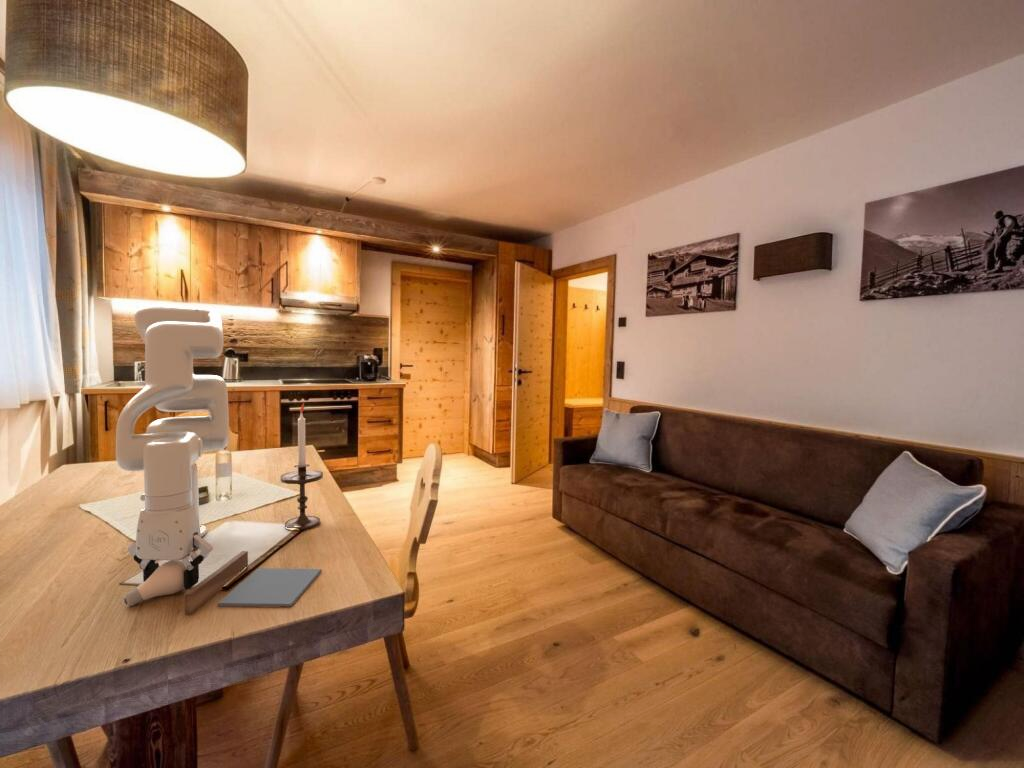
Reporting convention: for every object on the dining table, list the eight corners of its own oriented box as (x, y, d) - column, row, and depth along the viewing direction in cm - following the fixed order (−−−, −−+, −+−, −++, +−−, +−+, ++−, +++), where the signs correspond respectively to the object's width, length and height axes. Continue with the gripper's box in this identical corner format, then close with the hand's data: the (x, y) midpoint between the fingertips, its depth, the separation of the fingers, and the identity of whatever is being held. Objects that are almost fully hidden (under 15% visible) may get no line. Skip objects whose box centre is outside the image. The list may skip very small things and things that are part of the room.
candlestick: (312, 515, 133) (311, 399, 131) (330, 524, 127) (329, 402, 124) (274, 525, 125) (272, 402, 123) (291, 535, 118) (290, 405, 116)
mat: (217, 606, 85) (217, 603, 85) (258, 570, 99) (258, 568, 99) (290, 606, 85) (290, 603, 85) (321, 571, 99) (321, 568, 99)
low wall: (184, 614, 82) (184, 594, 82) (242, 568, 100) (242, 551, 100) (191, 615, 82) (190, 594, 82) (248, 568, 100) (247, 551, 100)
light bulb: (119, 590, 81) (187, 554, 89) (115, 583, 86) (180, 550, 93) (134, 621, 82) (201, 583, 90) (129, 613, 86) (193, 578, 94)
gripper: (108, 505, 85) (111, 595, 86) (199, 507, 85) (202, 596, 86) (140, 493, 92) (143, 576, 93) (224, 495, 92) (226, 577, 94)
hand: (171, 585), depth 90 cm, fingers closed on light bulb, 7 cm apart
